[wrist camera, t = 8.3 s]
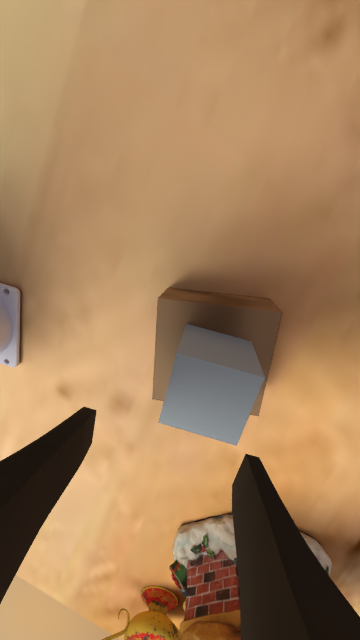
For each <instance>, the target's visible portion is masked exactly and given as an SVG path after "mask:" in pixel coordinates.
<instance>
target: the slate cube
mask: <svg viewBox="0 0 360 640" xmlns="http://www.w3.org/2000/svg"><path fill="white" fill-rule="evenodd" d="M264 379H265V376H264V373H263V371H262V368H261V365H260V363H259V360H258V357H257V355H256V352H255V349H254V347H253V344H252V341H248V340H245V339H241V338H237V337H234V336H230V335H226V334H222V333H219V332H215V331H211V330H208V329H204V328H200V327H197V326H193V325H189V324H186V326H185V329H184V332H183V335H182V338H181V341H180V344H179V347H178V350H177V353H176V356H175V360H174V364H173V368H172V372H171V376H170V380H169V384H168V387H167V391H166V395H165V399H164V403H163V407H162V411H161V414H160V418H159V422H158V423H161V424H165V425H168V426H171V427H175V428H178V429H182V430H185V431H188V432H192V433H195V434H199V435H202V436H206V437H209V438H212V439H216V440H219V441H223V442H226V443H229V444H233V445H236V446H237V444H238V441H239V439H240V436H241V434H242V432H243V429H244V427H245V424H246V422H247V420H248V417H249V415H250V412H251V410H252V408H253V405H254V403H255V400H256V398H257V395H258V393H259V391H260V388H261V386H262V383H263V381H264Z"/></svg>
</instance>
